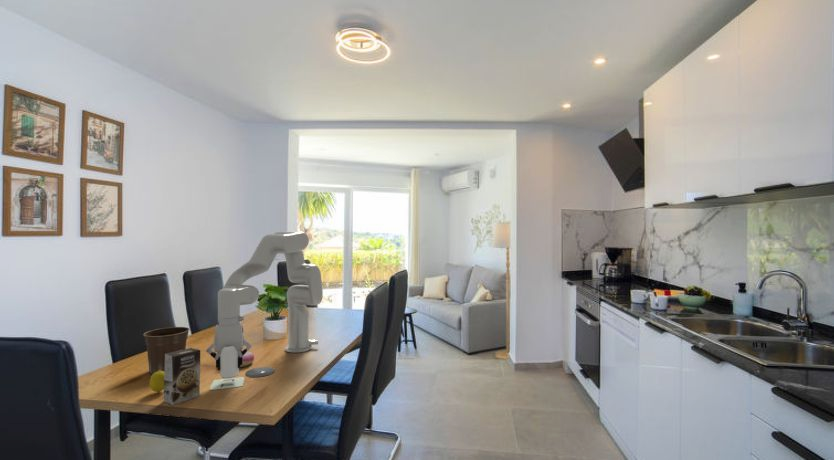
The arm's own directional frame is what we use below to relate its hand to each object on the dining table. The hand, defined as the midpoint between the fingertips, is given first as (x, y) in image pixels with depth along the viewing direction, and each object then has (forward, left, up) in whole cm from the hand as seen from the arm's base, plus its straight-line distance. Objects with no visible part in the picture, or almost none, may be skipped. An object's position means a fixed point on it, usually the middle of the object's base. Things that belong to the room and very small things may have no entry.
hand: (229, 367), depth 149 cm
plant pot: (+26, -23, -6) cm, 36 cm away
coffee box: (+13, +11, -6) cm, 18 cm away
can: (0, 0, -3) cm, 3 cm away
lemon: (+22, +3, -6) cm, 23 cm away
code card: (0, +1, -6) cm, 6 cm away
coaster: (-11, -8, -6) cm, 15 cm away
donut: (-1, -22, -6) cm, 23 cm away
